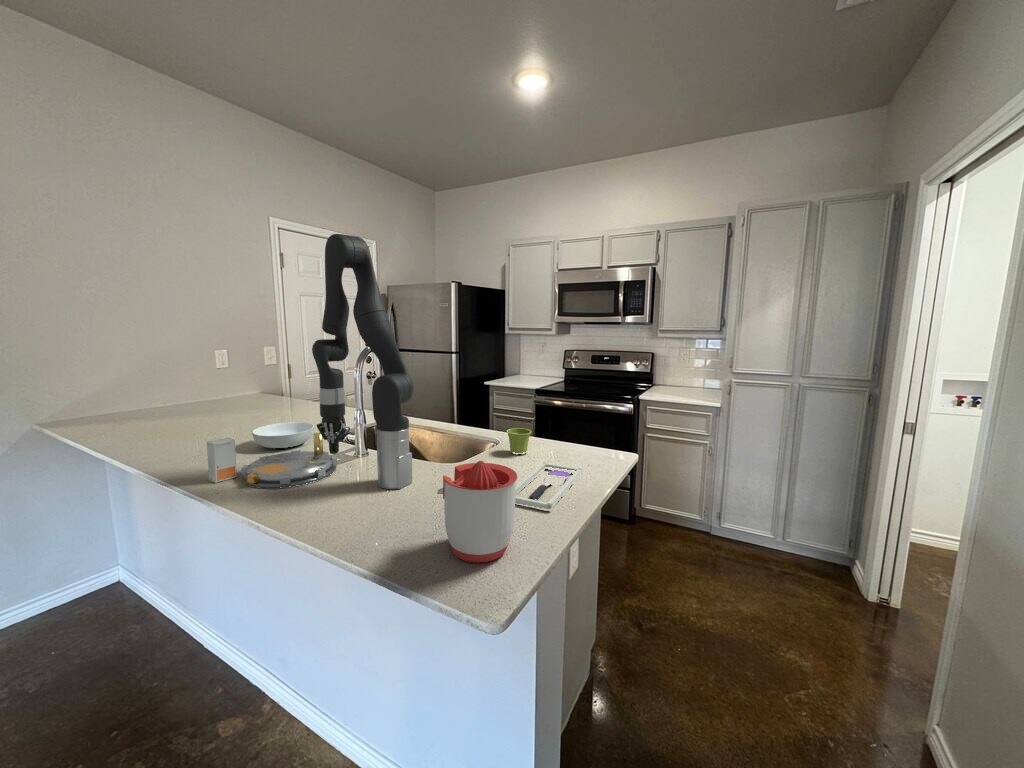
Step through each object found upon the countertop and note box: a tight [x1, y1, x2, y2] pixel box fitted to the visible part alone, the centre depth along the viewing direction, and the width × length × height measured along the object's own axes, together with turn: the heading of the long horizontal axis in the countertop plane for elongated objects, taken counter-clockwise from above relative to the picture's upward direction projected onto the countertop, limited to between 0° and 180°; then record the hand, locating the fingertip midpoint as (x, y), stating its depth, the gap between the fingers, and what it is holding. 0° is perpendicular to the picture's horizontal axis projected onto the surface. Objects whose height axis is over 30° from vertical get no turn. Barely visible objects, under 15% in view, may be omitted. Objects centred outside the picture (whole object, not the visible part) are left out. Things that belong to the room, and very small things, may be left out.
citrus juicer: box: [436, 460, 518, 563], centre depth 90 cm, size 16×17×20 cm
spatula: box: [528, 470, 571, 500], centre depth 126 cm, size 24×7×2 cm, turn 152°
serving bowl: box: [251, 421, 315, 449], centre depth 161 cm, size 21×21×7 cm
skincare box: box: [206, 437, 238, 484], centre depth 126 cm, size 6×4×12 cm
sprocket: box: [241, 432, 338, 485], centre depth 132 cm, size 27×27×9 cm
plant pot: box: [506, 427, 532, 453], centre depth 159 cm, size 9×9×9 cm
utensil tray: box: [515, 462, 583, 509], centre depth 127 cm, size 13×31×2 cm, turn 156°
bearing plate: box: [242, 466, 337, 489], centre depth 133 cm, size 26×26×1 cm
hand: (334, 453), depth 138 cm, fingers closed
